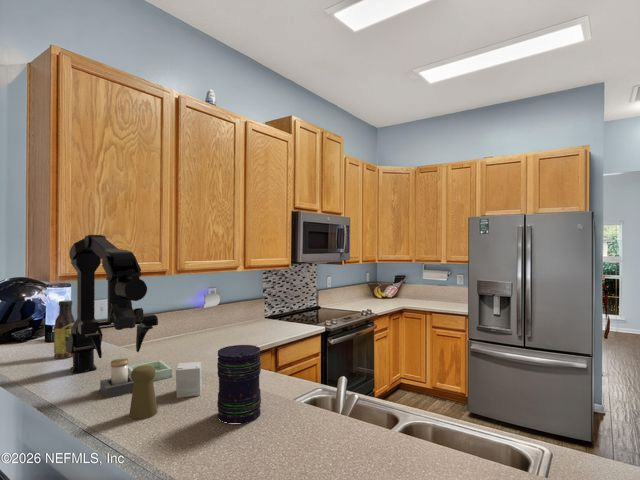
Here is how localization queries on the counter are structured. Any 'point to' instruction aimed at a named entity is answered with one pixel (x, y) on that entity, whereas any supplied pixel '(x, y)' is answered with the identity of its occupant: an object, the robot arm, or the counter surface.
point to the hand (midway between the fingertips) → (119, 354)
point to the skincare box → (188, 379)
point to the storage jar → (239, 383)
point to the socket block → (116, 387)
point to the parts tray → (156, 369)
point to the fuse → (119, 371)
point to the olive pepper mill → (143, 393)
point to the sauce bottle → (63, 329)
